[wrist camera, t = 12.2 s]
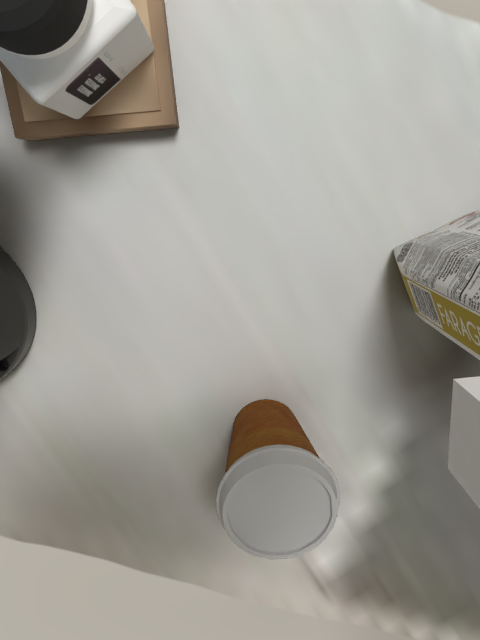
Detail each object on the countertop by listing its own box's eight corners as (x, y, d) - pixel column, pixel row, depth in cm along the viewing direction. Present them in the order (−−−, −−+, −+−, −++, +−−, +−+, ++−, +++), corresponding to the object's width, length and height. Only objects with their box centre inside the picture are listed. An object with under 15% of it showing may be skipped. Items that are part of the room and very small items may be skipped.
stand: (29, 140, 36) (14, 137, 33) (-9, -39, 32) (-29, -58, 30) (179, 127, 36) (175, 123, 33) (158, -52, 32) (152, -72, 30)
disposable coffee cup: (331, 414, 44) (370, 496, 33) (275, 483, 46) (293, 582, 35) (252, 366, 42) (264, 435, 31) (198, 440, 45) (190, 530, 33)
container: (157, 49, 32) (117, -33, 19) (78, 122, 33) (-8, 88, 21) (80, -55, 30) (-20, -221, 17) (-2, 26, 31) (-149, -75, 19)
